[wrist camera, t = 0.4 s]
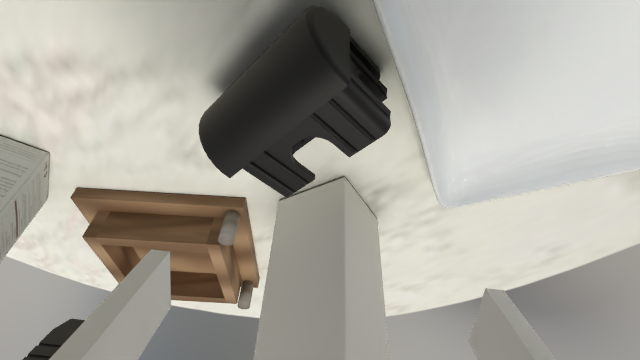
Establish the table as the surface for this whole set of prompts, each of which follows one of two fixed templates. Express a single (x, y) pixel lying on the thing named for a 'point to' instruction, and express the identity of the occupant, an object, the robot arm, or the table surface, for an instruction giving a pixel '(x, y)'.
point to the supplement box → (20, 189)
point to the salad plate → (518, 91)
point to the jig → (175, 240)
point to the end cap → (297, 104)
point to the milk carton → (324, 280)
